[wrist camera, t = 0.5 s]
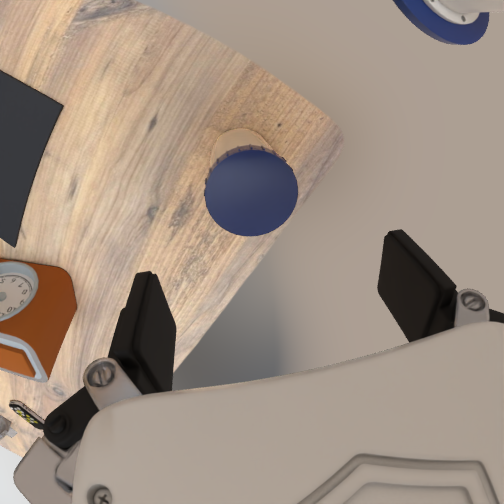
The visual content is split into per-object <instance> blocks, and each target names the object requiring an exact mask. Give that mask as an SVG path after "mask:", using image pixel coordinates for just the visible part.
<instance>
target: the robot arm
mask: <svg viewBox="0 0 504 504" xmlns="http://www.w3.org/2000/svg"><path fill="white" fill-rule="evenodd" d="M423 1H424V2H425V4H426V5H427V6H428V7H429V8H430V9H431V10H432V11H433V12H435V13H436V14H437V15H438V16H440V17H441V18H443V19H445V20H446V21H449V22H451V23H454V24H469V23H472V22H474V21H475V20H476V19H477V17H478V16H479V13H480V12H504V0H423ZM377 288H378V293H379V295H380V297H381V298H382V300H383V301H384V302H385V304H386V306H387V307H388V309H389V310H390V312H391V313H392V315H393V317H394V318H395V320H396V322H397V323H398V325H399V326H400V328H401V330H402V331H403V333H404V334H405V336H406V338H407V339H408V341H409V343H407V344H404V345H401V346H398V347H395V348H391V349H388V350H385V351H381V352H378V353H374V354H371V355H367V356H364V357H360V358H356V359H352V360H348V361H345V362H341V363H337V364H333V365H328V366H324V367H320V368H315V369H311V370H306V371H301V372H297V373H292V374H287V375H281V376H276V377H271V378H266V379H259V380H253V381H247V382H240V383H234V384H227V385H220V386H211V387H203V388H195V389H186V390H177V391H172V379H173V366H174V353H175V341H176V324H175V321H174V319H173V316H172V314H171V311H170V308H169V306H168V303H167V301H166V298H165V295H164V293H163V290H162V287H161V285H160V282H159V279H158V277H157V275H156V274H152V272H151V271H147V272H140V273H136V275H135V278H134V281H133V285H132V288H131V291H130V294H129V297H128V300H127V304H126V307H125V308H123V309H122V310H121V312H120V316H119V319H118V322H117V326H116V329H115V333H114V336H113V340H112V343H111V347H110V351H109V354H108V358H100V359H97V360H95V361H93V362H92V363H91V364H90V365H89V366H88V367H87V368H86V370H85V372H84V375H83V382H84V385H85V386H84V387H83V388H82V389H80V390H79V391H78V392H77V393H75V394H74V395H73V396H71V397H70V398H69V399H68V400H66V401H65V402H64V403H63V404H61V405H60V406H59V407H57V408H56V409H55V410H54V411H52V412H51V413H50V414H49V415H48V416H47V418H46V420H45V422H44V425H43V432H44V436H43V437H42V438H40V437H38V438H37V439H36V441H35V442H34V443H33V445H32V446H31V448H30V449H29V450H28V452H27V453H26V454H25V456H24V457H23V459H22V460H21V461H20V463H19V464H18V466H17V467H16V469H15V471H14V476H13V478H14V483H15V485H16V487H17V488H18V489H19V491H20V492H21V493H22V494H23V495H24V496H25V498H26V499H27V500H28V501H29V502H30V503H31V504H504V314H503V313H501V312H497V311H494V310H492V309H489V304H488V300H487V299H486V297H485V296H484V295H483V294H482V293H480V292H478V291H476V290H474V289H463V290H461V291H460V292H459V293H458V292H457V291H456V290H455V289H456V285H455V284H454V282H452V280H451V279H450V278H449V277H448V276H447V275H446V274H445V273H444V272H443V271H442V269H441V268H439V266H438V265H437V264H436V263H435V262H434V261H433V260H432V259H431V258H430V257H429V256H428V255H427V254H426V253H425V252H424V251H423V250H422V249H421V248H420V247H419V246H418V245H417V244H416V243H415V242H414V241H413V240H412V239H411V238H410V237H409V236H408V235H407V234H406V233H405V232H404V231H403V230H394V231H389V232H388V234H387V235H386V236H385V237H384V244H383V252H382V260H381V267H380V274H379V280H378V287H377Z"/></svg>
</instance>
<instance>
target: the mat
mask: <svg viewBox="0 0 504 504" xmlns="http://www.w3.org/2000/svg"><path fill="white" fill-rule="evenodd" d="M62 108H63V105H62V104H60V103H58V102H56V101H55V100H53V99H51V98H49V97H47V96H46V95H44V94H42V93H40V92H39V91H37V90H35V89H33V88H31V87H30V86H28V85H26V84H24V83H22V82H21V81H19V80H17V79H15V78H13V77H12V76H10V75H8V74H6V73H4V72H2V71H1V70H0V238H1V239H3V240H4V241H5V242H7V243H8V244H10V245H11V246H13V247H14V248H15V247H16V243H17V238H18V234H19V229H20V225H21V221H22V217H23V214H24V210H25V206H26V203H27V199H28V196H29V193H30V189H31V186H32V183H33V180H34V177H35V174H36V171H37V168H38V166H39V163H40V160H41V157H42V155H43V152H44V150H45V147H46V145H47V142H48V140H49V137H50V135H51V133H52V130H53V128H54V126H55V123H56V121H57V119H58V117H59V115H60V113H61V111H62Z"/></svg>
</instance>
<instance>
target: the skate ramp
mask: <svg viewBox="0 0 504 504" xmlns="http://www.w3.org/2000/svg"><path fill="white" fill-rule="evenodd" d="M10 425H11V421H9V420H7V419H6V418H4V417H3V416H1V415H0V438H1V439H3V438H4V437H5V436H6V435H8V436H9V437H11V438H12V437H14V436H15V435H16V434H17V432H16V431H15V430H13V429H12V428H11V427H10ZM4 435H5V436H4ZM3 436H4V437H3ZM2 437H3V438H2ZM1 439H0V440H1Z"/></svg>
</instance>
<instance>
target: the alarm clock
mask: <svg viewBox="0 0 504 504" xmlns="http://www.w3.org/2000/svg"><path fill="white" fill-rule="evenodd" d="M76 310H77V304H76V299H75V295H74V290H73V285H72V281H71V278H70V276H69V275H68V273H67V272H66V271H64V270H63V269H61V268H59V267H54V266H47V265H40V264H33V263H26V262H19V261H13V260H7V259H0V370H3V371H5V372H8V373H11V374H14V375H17V376H21V377H24V378H27V379H30V380H34V381H37V382H47V381H48V380H49V377H50V374H51V372H52V369H53V366H54V363H55V361H56V358H57V355H58V353H59V350H60V348H61V345H62V343H63V340H64V338H65V335H66V333H67V331H68V328H69V326H70V323H71V321H72V319H73V317H74V314H75V312H76Z"/></svg>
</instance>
